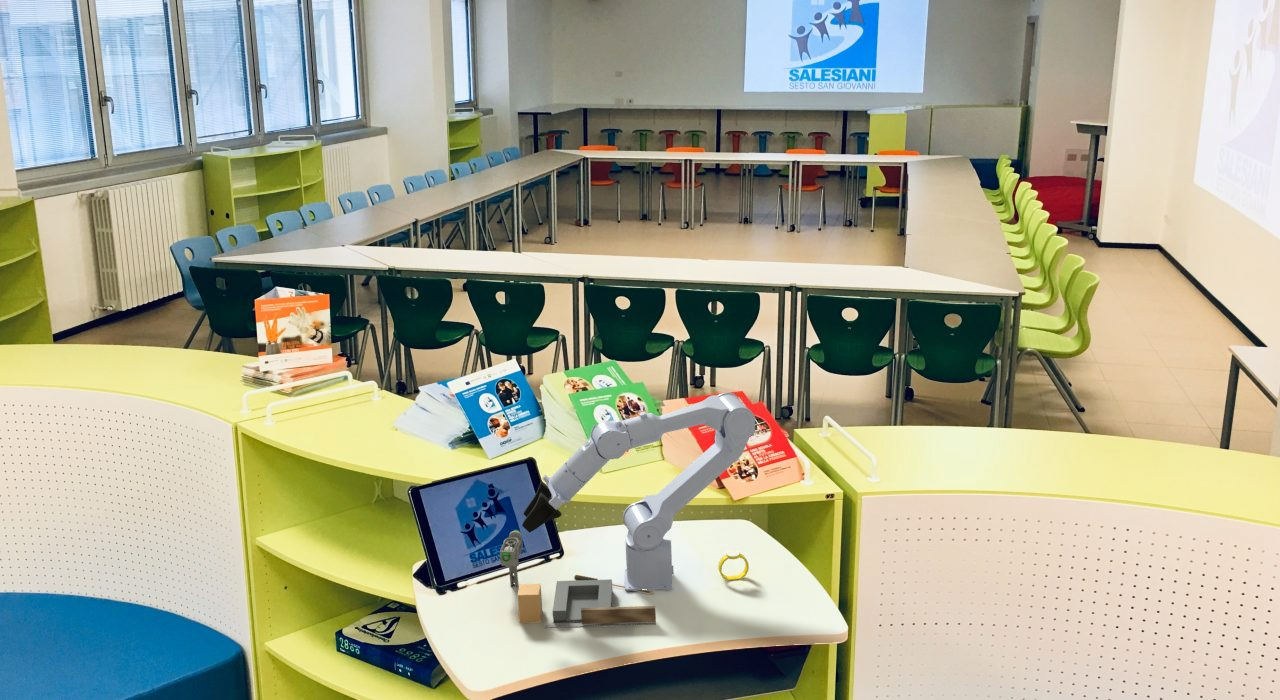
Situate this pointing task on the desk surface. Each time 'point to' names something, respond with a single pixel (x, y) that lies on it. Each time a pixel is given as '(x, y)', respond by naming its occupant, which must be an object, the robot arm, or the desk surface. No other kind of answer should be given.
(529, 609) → the jaw block
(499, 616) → the desk surface
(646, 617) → the wooden plank
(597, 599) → the housing
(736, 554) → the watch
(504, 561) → the mechanical component
